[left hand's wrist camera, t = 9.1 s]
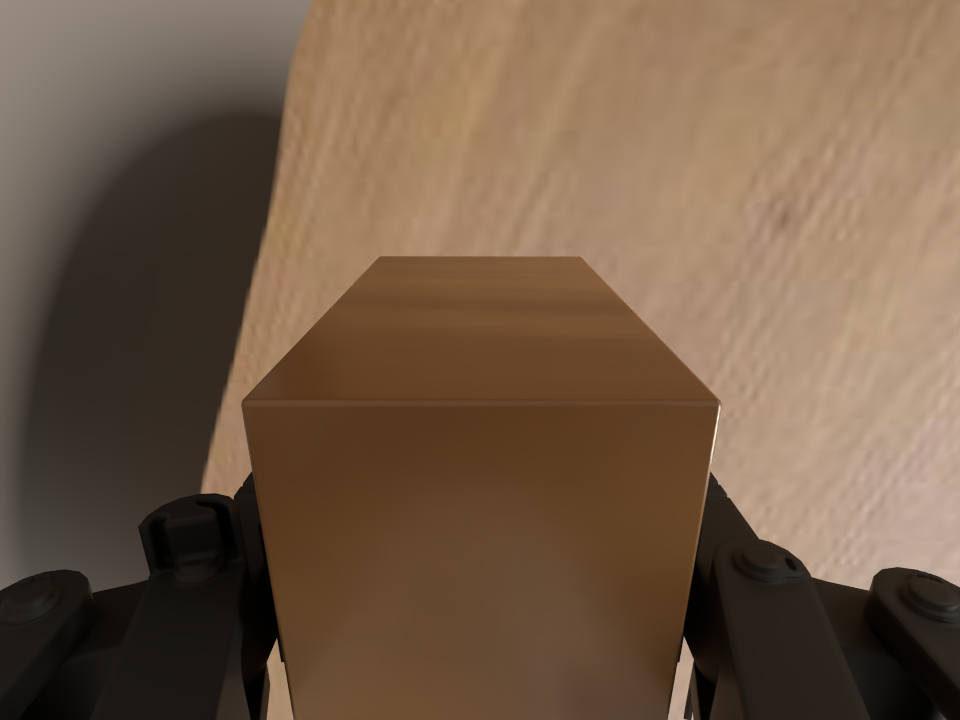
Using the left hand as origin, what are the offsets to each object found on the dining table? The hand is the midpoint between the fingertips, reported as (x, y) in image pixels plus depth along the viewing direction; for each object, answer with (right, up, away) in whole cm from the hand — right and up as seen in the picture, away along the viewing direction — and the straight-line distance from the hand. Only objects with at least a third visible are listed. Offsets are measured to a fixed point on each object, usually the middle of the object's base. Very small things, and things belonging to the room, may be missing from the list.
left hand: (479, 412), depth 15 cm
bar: (0, -9, +4) cm, 10 cm away
